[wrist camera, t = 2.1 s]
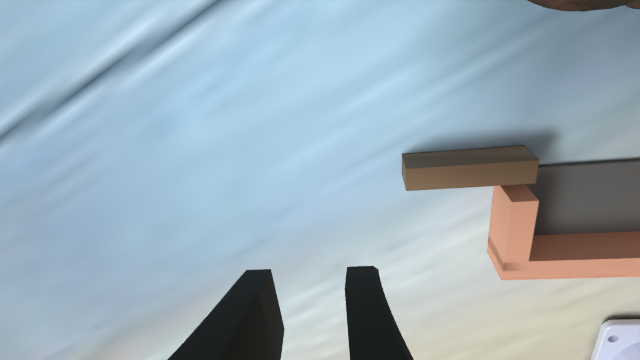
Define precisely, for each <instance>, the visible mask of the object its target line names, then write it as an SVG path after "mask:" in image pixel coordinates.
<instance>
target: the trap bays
mask: <svg viewBox="0 0 640 360" xmlns="http://www.w3.org/2000/svg"><path fill="white" fill-rule="evenodd" d="M487 252H488V254H489V256H490V258H491V260H492V262H493V264H494V266H495V268H496V270H497V272H498V274H499V276H500V278H501V280H526V279H565V278H604V277H640V159H639V160H623V161H608V162H592V163H576V164H561V165H545V166H538V172H537V178H536V183H534V184H516V185H499V186H494V193H493V203H492V212H491V221H490V230H489V240H488V249H487Z"/></svg>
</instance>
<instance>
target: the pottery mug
mask: <svg viewBox="0 0 640 360" xmlns="http://www.w3.org/2000/svg"><path fill="white" fill-rule="evenodd" d="M528 1H530V2H532V3H534V4H537V5H540V6H542V7H546V8H550V9H556V10H562V11H590V10H600V9H610V8H615V7H619V6H623V5H625V6H627V7H630V8H633V9H640V0H528Z"/></svg>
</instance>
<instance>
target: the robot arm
mask: <svg viewBox="0 0 640 360" xmlns="http://www.w3.org/2000/svg"><path fill="white" fill-rule="evenodd" d="M345 297H346V311H347V324H348V337H349V350H350V360H414V359H413V357H412V355H411V354H410V352H409V350H408V348H407V346H406V343H405V341H404V339H403V337H402V335H401V333H400V331H399V329H398V326H397V324H396V322H395V320H394V318H393V315H392V313H391V310H390V308H389V305H388V303H387V300H386V297H385V294H384V292H383V288H382V285H381V281H380V277H379V271H378V269H377V268H375V267H374V266H358V267H347V273H346V283H345ZM283 336H284V325H283V321H282V317H281V312H280V308H279V303H278V299H277V295H276V290H275V286H274V281H273V277H272V273H271V269H264V270H246V271H245V272H244V274H243V275H242V276H241V277H240V278H239V279H238V280H237V282H236V283H235V284H234V285H233V286H232V287H231V289H230V290H229V291H228V292H227V293H226V295H225V296H224V297H223V298H222V299H221V301H220V302H219V303H218V304H217V305H216V306H215V308H214V309H213V310H212V311H211V312H210V313H209V315H208V316H207V317H206V318H205V319H204V320H203V321H202V322H201V324H200V325H199V326H198V327H197V328H196V329H195V330H194V332H193V333H192V334H191V335H190V336H189V337H188V338H187V339H186V341H185V342H184V343H183V344H182V345H181V346H180V347H179V348H178V349H177V350H176V351H175V352H174V353H173V354H172V356H171V357H170V358H169V359H168V360H280V359H281V352H282V344H283ZM591 360H640V319H625V320H608V321H606V322H604V323H603V324H602V326H601V328H600V332H599V335H598V338H597V341H596V344H595V347H594V350H593V353H592V357H591Z"/></svg>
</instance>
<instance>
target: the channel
mask: <svg viewBox="0 0 640 360" xmlns="http://www.w3.org/2000/svg"><path fill="white" fill-rule="evenodd" d="M538 166H539V159H537V158H536V157H535V156H534V155H533V154H532V153H531V152H530V151H529V150H528V149H527V148H526V147H525V146H509V147H495V148H481V149H467V150H453V151H439V152H425V153H411V154H402V176H403V180H404V184H405V188H406V191H413V190H430V189H448V188H465V187H482V186H499V185H516V184H534V183H536V178H537V172H538Z"/></svg>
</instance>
